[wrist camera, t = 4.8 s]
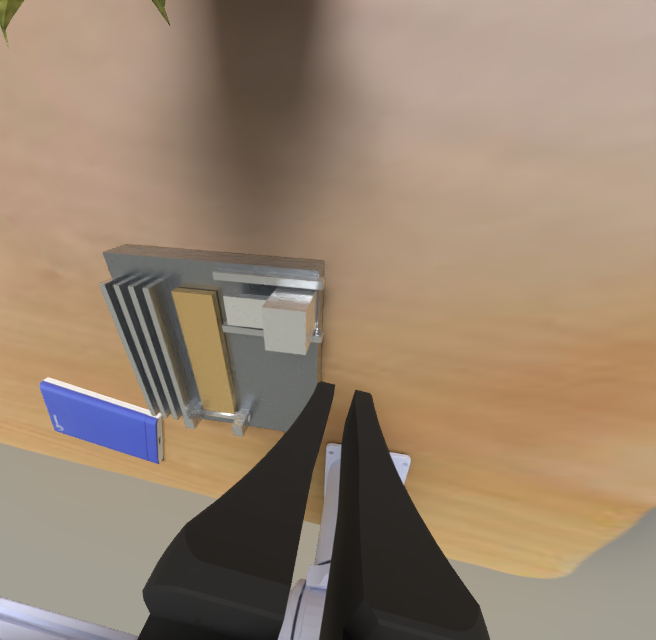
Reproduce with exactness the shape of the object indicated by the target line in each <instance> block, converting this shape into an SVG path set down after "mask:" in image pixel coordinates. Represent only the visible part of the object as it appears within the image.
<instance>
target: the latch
mask: <svg viewBox="0 0 656 640" xmlns="http://www.w3.org/2000/svg"><path fill="white" fill-rule="evenodd" d="M223 299H224V305H225V311H226V317H227V323H228V325H234V326H243V327H252V328H261V329H263V331H264V341H265V350H268V351H276V352H284V353H293V354H301V355H306V353H307V351H308V348H309V345H310V342H311V340H312V337H313V334H314V331H315V329H316V312H317V289H307V288H296V287H286V286H277V288H276V289H275V290H274V292H273V293H272V294H271V295H270V296H262V295H252V294H242V293H232V292H227V293H226V294H225V295H224V296H223Z"/></svg>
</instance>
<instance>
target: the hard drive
mask: <svg viewBox="0 0 656 640" xmlns="http://www.w3.org/2000/svg"><path fill="white" fill-rule="evenodd" d="M40 390H41V393H42V396H43V399H44V401H45V404H46V407H47V410H48V412H49V415H50V418H51V421H52V424H53V427H54V430H55V431H57V432H60V433H63V434H66V435H69V436H73V437H76V438H79V439H82V440H85V441H88V442H91V443H94V444H98V445H101V446H104V447H107V448H110V449H113V450H116V451H119V452H122V453H125V454H128V455H132V456H135V457H138V458H141V459H144V460H147V461H150V462H154V463H157V464H159V463H160V462H161V460H162V459H163V435H162V414H159V413H158V415H157V416H152V415H151V413H150V410H147V409H144V408H141V407H138V406H135V405H132V404H129V403H126V402H122V401H119V400H116V399H113V398H110V397H107V396H104V395H101V394H98V393H95V392H92V391H89V390H86V389H83V388H79V387H76V386H73V385H70V384H67V383H64V382H61V381H58V380H55V379H52V378H49V377H48V378H46V379H44V380H43V381H42V382H41V383H40Z"/></svg>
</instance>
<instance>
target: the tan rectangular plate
mask: <svg viewBox="0 0 656 640" xmlns="http://www.w3.org/2000/svg"><path fill="white" fill-rule="evenodd" d="M171 293H172V296H173V300H174V304H175V307H176V311H177V315H178V318H179V322H180V325H181V329H182V333H183V336H184V340H185V344H186V347H187V351H188V355H189V358H190V362H191V366H192V369H193V373H194V377H195V380H196V384H197V388H198V391H199V395H200V398H201V402H202V406H203V409H204V410H210V411H217V412H224V413H230V414H235V413H236V411H237V409H238V407H237V401H236V396H235V390H234V385H233V380H232V374H231V369H230V363H229V358H228V352H227V347H226V342H225V336H224V332H223V329H222V320H221V315H220V309H219V304H218V298H217V293H216V291H206V290H196V289H186V288H175V289H174V290H172V291H171Z"/></svg>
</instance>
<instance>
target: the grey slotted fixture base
mask: <svg viewBox="0 0 656 640" xmlns="http://www.w3.org/2000/svg"><path fill="white" fill-rule="evenodd" d="M103 255H104V258H105V260H106V263H107V266H108V268H109V271H110V274H111V276H112V278H110V279H108V280H106V281H103V282H101V283H99V286H100V288H101V291H102V293H103V296H104V298H105V301H106V303H107V306H108V308H109V311H110V313H111V316H112V318H113V321H114V323H115V326H116V328H117V331H118V333H119V336H120V338H121V341H122V343H123V345H124V348H125V350H126V353H127V355H128V358H129V360H130V363H131V365H132V368H133V370H134V373H135V375H136V378H137V380H138V383H139V385H140V388H141V390H142V393H143V395H144V398H145V400H146V403H147V405H148V408H149V410H150V413H151V415H152V416H157V415H158V413H159V412H161V414H162V417H164V418H167V417H168V416H169V415H170V414H172V416H173V419H177V420H178V419H179V418H180V417H181V415H182V416H183V420H184V423H185V426H186V428H191V429H195V428H196V427H197V426H198V424H199V423H200V421H201V420H202V419H208V420H215V421H221V422H228V423H233V424H232V429H233V434H234V435H235V436H241V437H243V436H244V434H245V432H246V430H247V428H248V426H254V427H260V428H267V429H273V430H280V431H286V432H287V431H288V429H289V428H290V427H291V425H292V424H293V423H294V422H295V420H296V419H297V418H298V416H299V415H300V413H301V412H302V410H303V409H304V407H305V406H306V404H307V403H308V401H309V399H310V398H311V396H312V394H313V392H314V390H315V388H316V386H317V383H318V382H320V381H321V357H322V340H323V333H324V330H322V321H323V288H324V286H325V277H324V260H312V259H300V258H288V257H275V256H263V255H251V254H239V253H227V252H214V251H202V250H190V249H178V248H166V247H153V246H141V245H129V244H125V245H122V246H119V247H116V248H113V249H111V250H108V251H105V252H103ZM277 286H286V287H296V288H307V289H317V312H316V329H315V331H314V334H313V337H312V340H311V342H310V345H309V348H308V351H307V353H306V355H301V354H293V353H284V352H276V351H268V350H265V341H264V331H263V329H261V328H252V327H243V326H234V325H228V323H227V317H226V311H225V305H224V299H223V296H224V295H225V294H226V293H227V292H232V293H242V294H252V295H262V296H270V295H271V294H272V293H273V292H274V290H275V289H276V288H277ZM175 288H186V289H196V290H206V291H216V293H217V298H218V304H219V309H220V315H221V320H222V329H223V332H224V336H225V342H226V347H227V352H228V358H229V363H230V369H231V374H232V380H233V385H234V390H235V396H236V401H237V407H238V409H237V411H236V413H235V414H230V413H224V412H217V411H210V410H204V409H203V406H202V402H201V398H200V395H199V391H198V388H197V384H196V380H195V377H194V373H193V369H192V366H191V362H190V358H189V355H188V351H187V347H186V344H185V340H184V336H183V333H182V329H181V325H180V322H179V318H178V315H177V311H176V307H175V304H174V300H173V296H172V293H171V291H172V290H174V289H175Z"/></svg>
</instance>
